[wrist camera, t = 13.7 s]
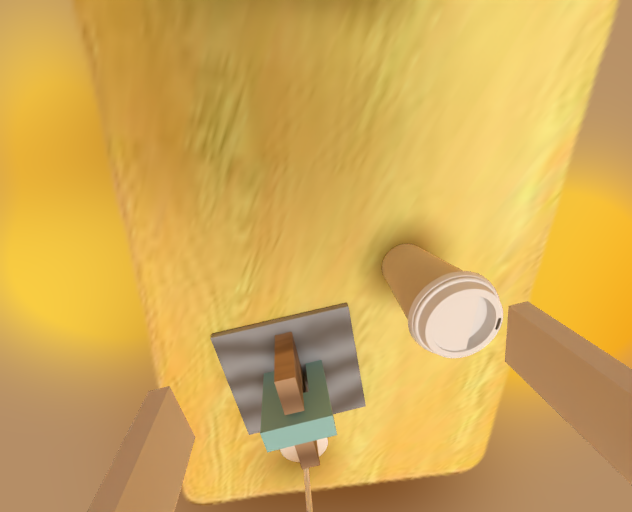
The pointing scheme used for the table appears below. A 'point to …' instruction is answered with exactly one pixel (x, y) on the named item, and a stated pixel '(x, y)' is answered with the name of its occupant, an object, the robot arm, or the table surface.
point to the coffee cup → (442, 302)
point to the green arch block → (299, 425)
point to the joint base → (292, 365)
